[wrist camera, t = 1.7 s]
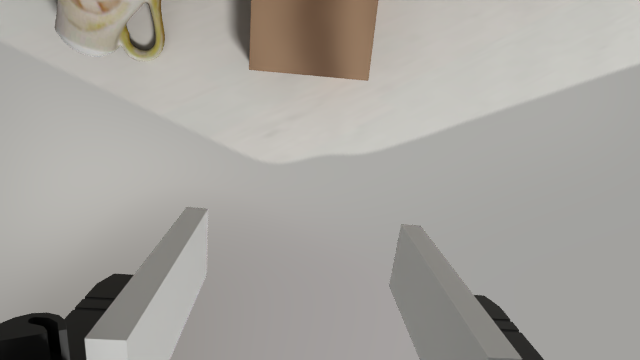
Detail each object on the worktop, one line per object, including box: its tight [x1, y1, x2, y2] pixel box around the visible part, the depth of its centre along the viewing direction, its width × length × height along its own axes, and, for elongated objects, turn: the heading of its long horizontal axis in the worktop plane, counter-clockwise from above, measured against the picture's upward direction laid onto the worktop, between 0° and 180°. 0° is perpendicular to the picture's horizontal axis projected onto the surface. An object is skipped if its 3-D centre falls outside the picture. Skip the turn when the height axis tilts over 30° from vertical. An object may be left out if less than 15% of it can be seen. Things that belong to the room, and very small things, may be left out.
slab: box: [249, 0, 378, 81], centre depth 27 cm, size 9×10×4 cm
